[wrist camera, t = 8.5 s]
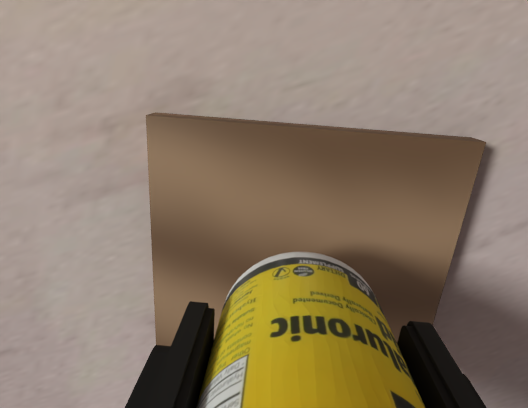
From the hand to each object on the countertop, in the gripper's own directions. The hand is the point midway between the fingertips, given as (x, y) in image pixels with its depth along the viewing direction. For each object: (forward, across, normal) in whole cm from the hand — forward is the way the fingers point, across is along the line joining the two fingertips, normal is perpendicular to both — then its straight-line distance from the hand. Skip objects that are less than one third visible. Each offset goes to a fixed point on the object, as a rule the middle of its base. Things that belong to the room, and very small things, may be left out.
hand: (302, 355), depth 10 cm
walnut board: (+5, 0, 0) cm, 5 cm away
